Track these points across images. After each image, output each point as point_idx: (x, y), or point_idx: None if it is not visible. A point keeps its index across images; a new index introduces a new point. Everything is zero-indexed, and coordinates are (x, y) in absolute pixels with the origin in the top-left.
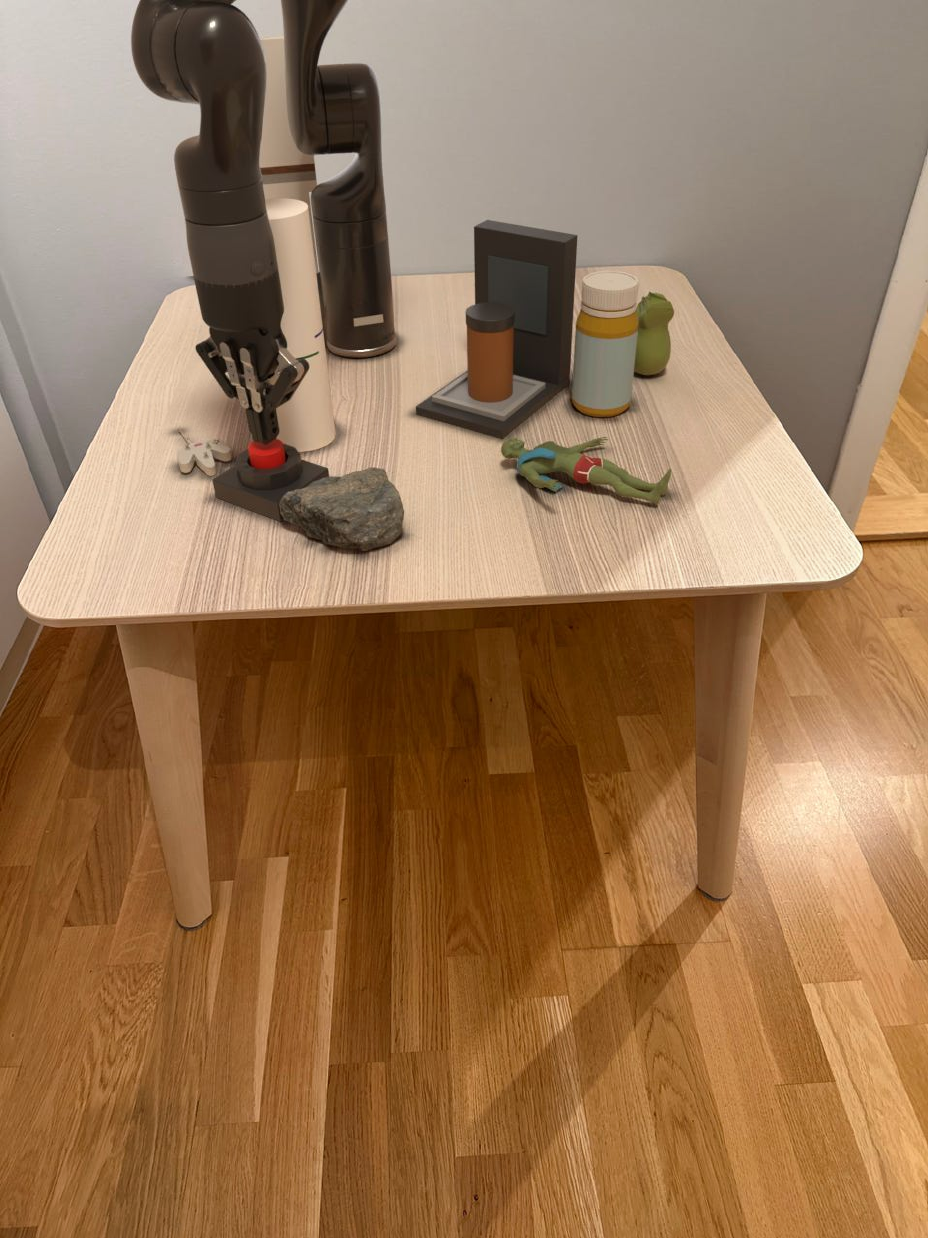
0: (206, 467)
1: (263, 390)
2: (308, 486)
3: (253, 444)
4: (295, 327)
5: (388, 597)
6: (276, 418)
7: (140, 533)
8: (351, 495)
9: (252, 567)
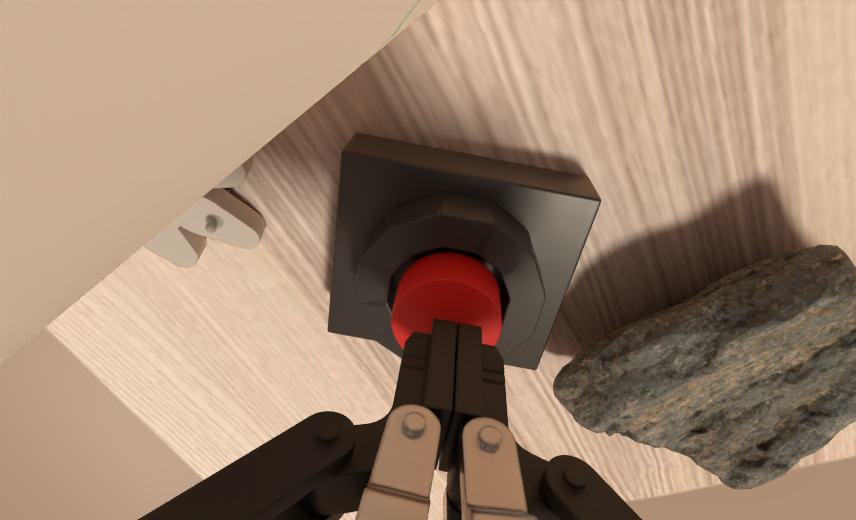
0: (246, 246)
1: (436, 448)
2: (619, 368)
3: (404, 328)
4: (330, 84)
5: (824, 459)
6: (504, 398)
7: (295, 422)
8: (764, 396)
9: (545, 448)
